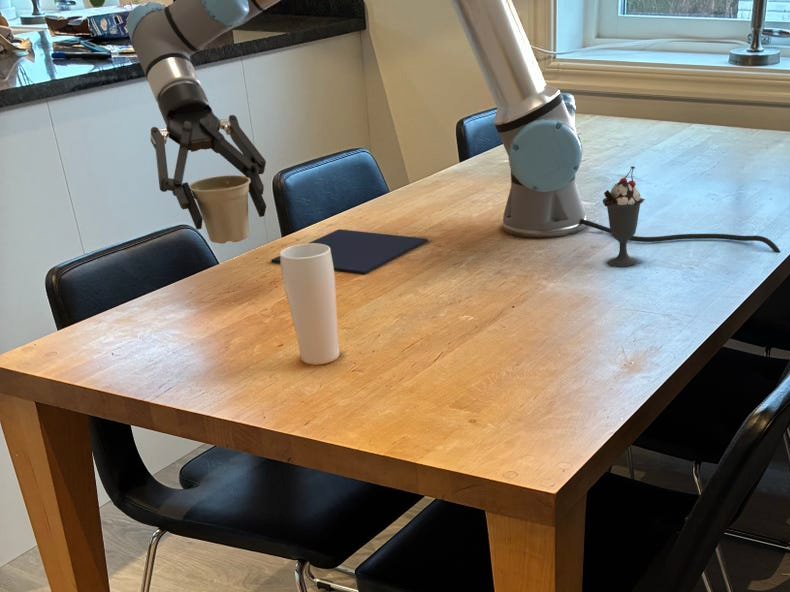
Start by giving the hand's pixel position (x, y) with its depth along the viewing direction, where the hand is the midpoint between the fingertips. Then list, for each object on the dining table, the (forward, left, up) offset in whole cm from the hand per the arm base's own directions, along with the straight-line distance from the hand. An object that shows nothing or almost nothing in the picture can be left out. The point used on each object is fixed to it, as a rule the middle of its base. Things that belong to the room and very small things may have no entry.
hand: (231, 217), depth 160 cm
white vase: (-27, +16, -13) cm, 34 cm away
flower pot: (+3, -2, -4) cm, 5 cm away
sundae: (-49, -37, -13) cm, 63 cm away
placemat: (-1, -27, -13) cm, 30 cm away
